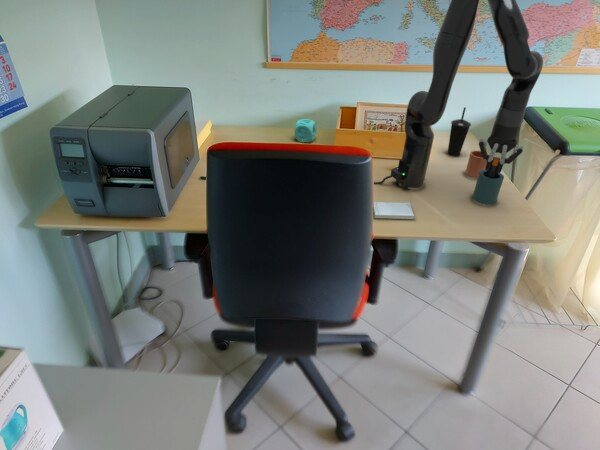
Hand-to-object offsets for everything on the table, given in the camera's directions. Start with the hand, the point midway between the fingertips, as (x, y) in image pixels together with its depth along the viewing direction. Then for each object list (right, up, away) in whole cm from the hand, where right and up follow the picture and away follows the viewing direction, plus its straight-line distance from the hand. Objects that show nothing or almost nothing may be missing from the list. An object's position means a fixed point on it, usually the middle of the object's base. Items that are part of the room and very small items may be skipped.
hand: (492, 171), depth 134 cm
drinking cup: (+2, +13, +38) cm, 40 cm away
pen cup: (+3, +1, +22) cm, 22 cm away
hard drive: (-33, -14, -1) cm, 36 cm away
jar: (0, -9, +6) cm, 11 cm away
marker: (0, -8, +6) cm, 10 cm away
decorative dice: (-62, +21, +49) cm, 82 cm away
